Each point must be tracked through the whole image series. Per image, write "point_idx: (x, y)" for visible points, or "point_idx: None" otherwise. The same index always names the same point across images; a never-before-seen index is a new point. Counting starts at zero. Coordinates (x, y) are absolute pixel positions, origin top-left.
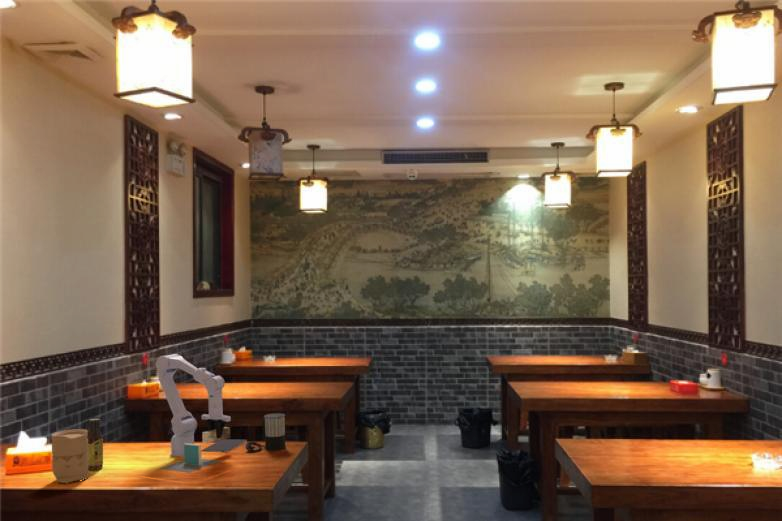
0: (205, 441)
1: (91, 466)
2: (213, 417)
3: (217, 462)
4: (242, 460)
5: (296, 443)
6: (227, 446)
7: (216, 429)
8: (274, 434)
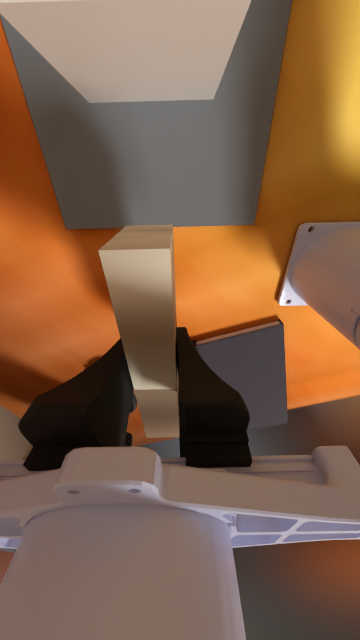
0: (138, 228)
1: None
2: (57, 497)
3: (57, 196)
4: (31, 291)
5: None
6: None
7: (110, 362)
8: (30, 448)
